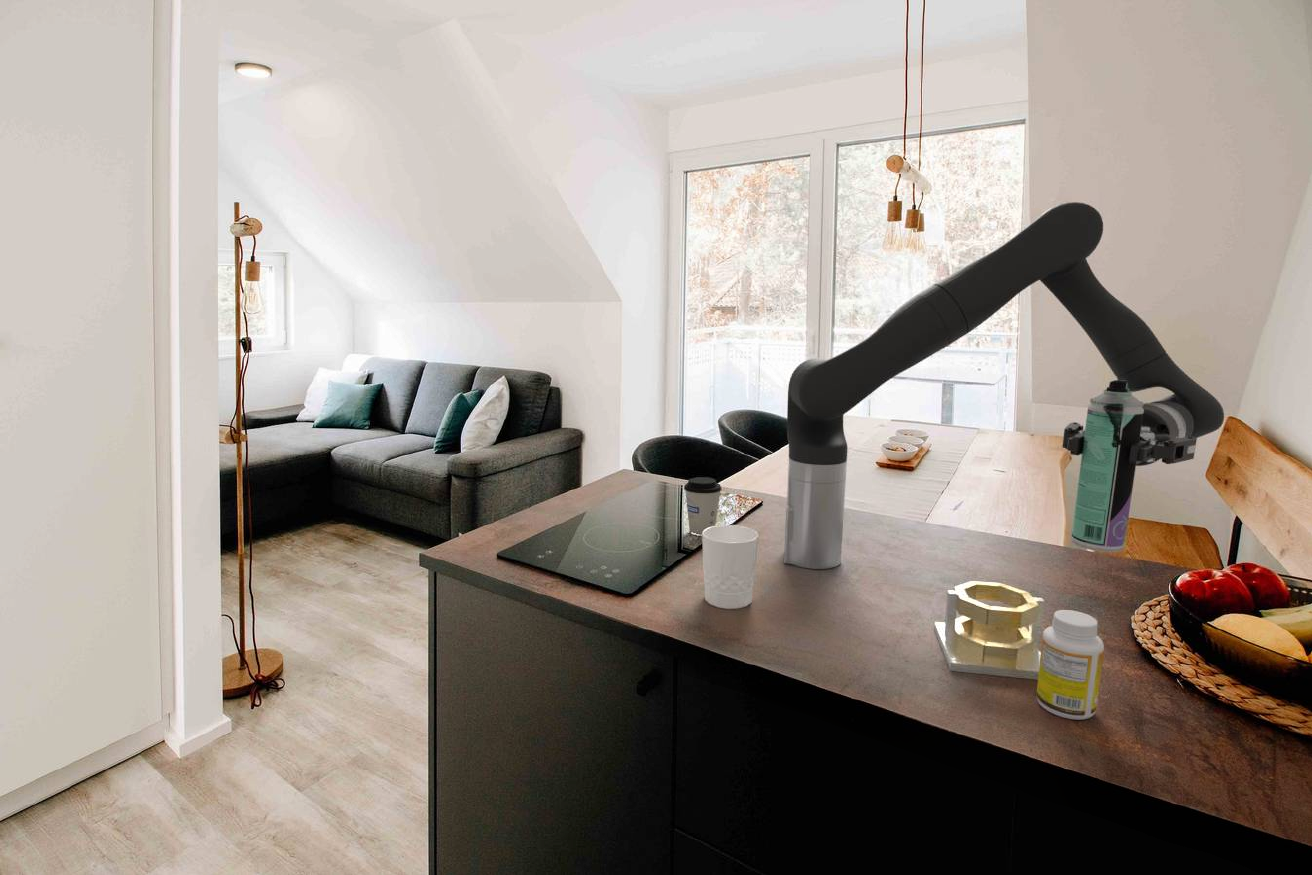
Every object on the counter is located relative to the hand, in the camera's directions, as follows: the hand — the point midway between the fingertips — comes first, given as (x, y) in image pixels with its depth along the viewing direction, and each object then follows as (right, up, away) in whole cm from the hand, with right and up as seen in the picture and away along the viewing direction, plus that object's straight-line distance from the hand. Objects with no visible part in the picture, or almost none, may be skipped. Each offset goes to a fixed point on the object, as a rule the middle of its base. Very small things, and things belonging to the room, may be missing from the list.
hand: (1103, 450), depth 82 cm
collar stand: (-11, -25, +5) cm, 28 cm away
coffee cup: (-43, -16, +50) cm, 68 cm away
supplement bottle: (-8, -27, -6) cm, 29 cm away
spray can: (+2, -12, +4) cm, 12 cm away
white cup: (-41, -22, +20) cm, 51 cm away
